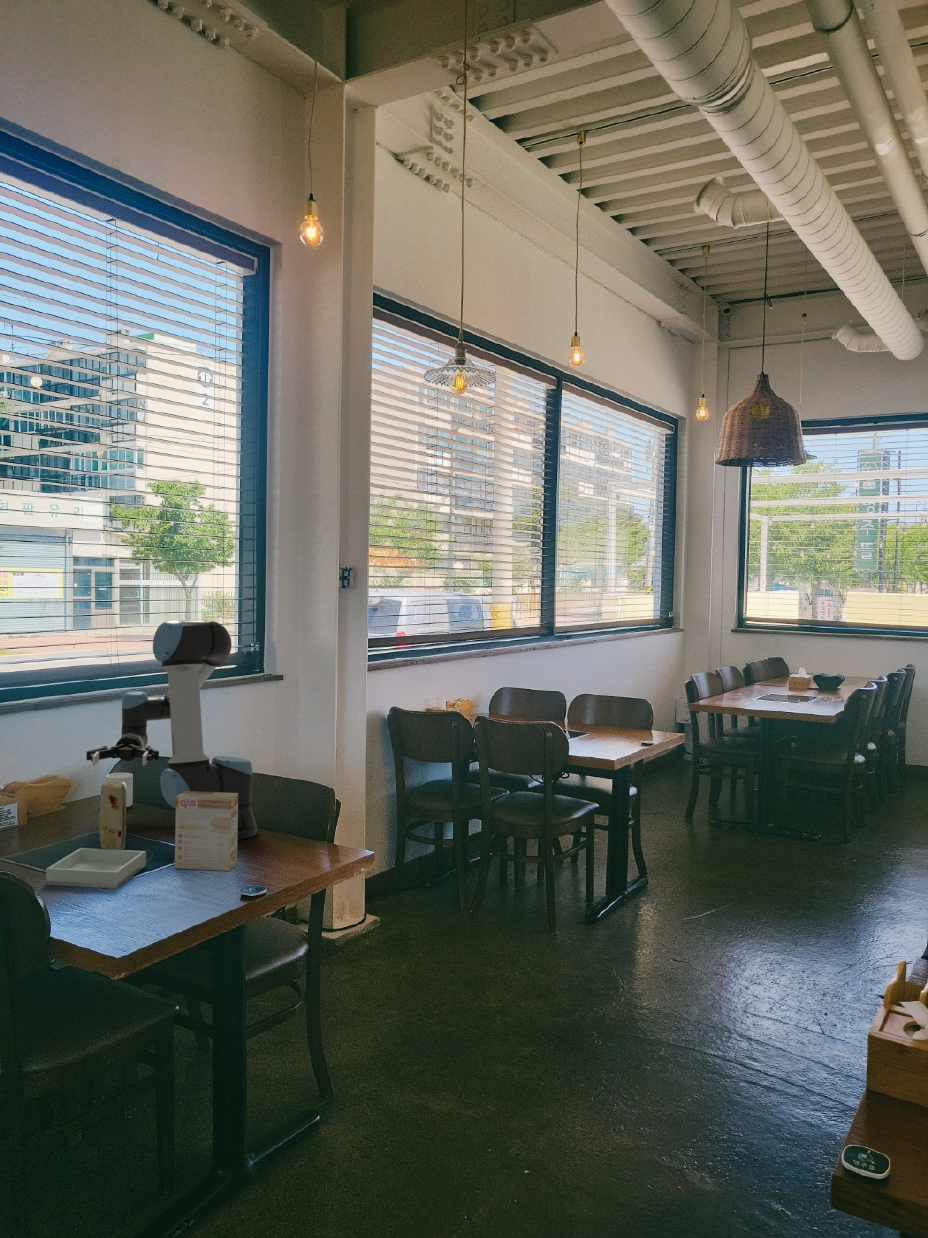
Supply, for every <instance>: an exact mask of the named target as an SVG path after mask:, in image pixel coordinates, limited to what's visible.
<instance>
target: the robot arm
mask: <svg viewBox="0 0 928 1238" xmlns="http://www.w3.org/2000/svg"><path fill="white" fill-rule="evenodd" d="M232 646H233V645H232V638H231V635H230V633H229V631H228V630H227V628H225V626H224V625H223V624H221V623H219V622H218V621H215V620H209V619H208V620H207V619H205V620H191V619H190V620H182V619H180V620H168V621H164V622H162V623H161V624H159V626H158V628H156V631H155V633H154V634H153V640H152V652H153V655H154V659H156V661H158V662H161V668H162V669H163V670H164V671H165V672H166V673H167V679H168V692H167V693H166V694H165V695H163V696H148V694H147V692H145V691H127V692H124V693H123V695H122V699H121V736H120V738H119V739H118V741H117V742H116V744H115V745H113V746H111V747H110V748H109V747H108V745H104V746H101V747H99V748H95V749H91V750H87V751H86V754H85V755H86V756H85V757H86V761H91V765H92V767H93V766H96V765H97V764H98V763H99V762H100V761H101V760H105V759H120V760H121V761H124V762H131V761H134V760H136V759H142V762H141V763H142V766H146V765H147V763H148V761H149V762H150V761H152V760H156V761H158V760H160V750H157V749H155V748H153V747H152V746H150V745H148V740H149V739H148V738H149V736H148V733H147V729H148V728H147V725H148V721H162V720H170V730H171V745H172V746H171V749H172V751H171V752H172V756H171V757H170V759H168V761H167V768H165V769H164V770H162V772H161V774H160V779H159V783H160V790H161V793H162V796H163V798H164V800H165V802H166V803H167V804H168V805H169V806H170V807H172V808H173V809H176V796H178V795H179V794H181V793H182V792H184V791H197V792H221V793H238V832H237V841H240V840H246V839H250V838H252V837H254V836H256V835H257V831H258V830H257V829H258V827H257V823H256V820H255V817H254V813H253V810H252V794H253V793H252V790H253V789H252V787H253V786H252V785H253V765H252V762H251V761H250V760H248V759H246V758H242V757H236V756H227V755H226V756H221V755H220V756H218V755H217V756H213V757H212V760H211V762H210V757H209V756H207V755H206V754H205V753H204V743H203V739H204V738H203V728H202V726H203V725H202V722H203V721H202V708H201V706H202V705H201V692H200V689H201V688H202V687H203V685H204V684H205V683H206V681H207V680H208V679H209V677H210V676H211V675H212V674H213V672H214V671H215V669H216V668H217V667H218V668H219V667H221V666H222V665H223V664H225V662H226V661H227V659H229V657H230V653H231V650H232Z"/></svg>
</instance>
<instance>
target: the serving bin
mask: <svg viewBox="0 0 928 1238" xmlns="http://www.w3.org/2000/svg"><path fill="white" fill-rule="evenodd" d="M146 866H147V851H146V850H130V849H129V850H128V849H127V850H126V849H124V850H111V849H102V848H88V847H87V848H86V847H85V848H84V847H79V848H78V849H76V850H75V851H73V852H71V853H69V854H68V855H66V856H65V857H63V858H60V860H58V861H56V862H55V863H54V864H52V865H50V866H48V867H47V868H45V885H47V886H67V887H80V888H81V887H83V888H85V887H86V888H100V889H101V888H103V889H118V888H119V887H121V886H122V885H123V884H125V883H126V882H127V881H129V880H130V879H131V878H132V877H134V876H135V875H136V874H138V873H139V872H140V871H142V870H143V869H144V868H146Z"/></svg>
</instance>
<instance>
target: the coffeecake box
mask: <svg viewBox="0 0 928 1238" xmlns="http://www.w3.org/2000/svg"><path fill="white" fill-rule="evenodd" d="M174 825H175V833H174V836H175V838H174V869H178V870H179V869H181V870H182V869H185V870H200V871H202V870H204V871H219V872H220V871H221V872H222V871H223V872H230V871H232V869H233V868H234V867H235V866H236V865H237V864H238V840H237V832H238V793H221V792H197V791H184V792H182V793H181V794H179V795H178V796H176V808H175V824H174Z"/></svg>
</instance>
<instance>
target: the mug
mask: <svg viewBox="0 0 928 1238" xmlns="http://www.w3.org/2000/svg"><path fill="white" fill-rule="evenodd" d="M109 781H114V782H118V783H122V784H124V786H125V789H126V796H127V797H126V809H127V808H130V807H131V806H132V805H133V796H134V795H133V786H134V785H133V784H134V783H133V781H134V775H133V773H130V772H114V773H109V774H106V778H105V782H109Z"/></svg>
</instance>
